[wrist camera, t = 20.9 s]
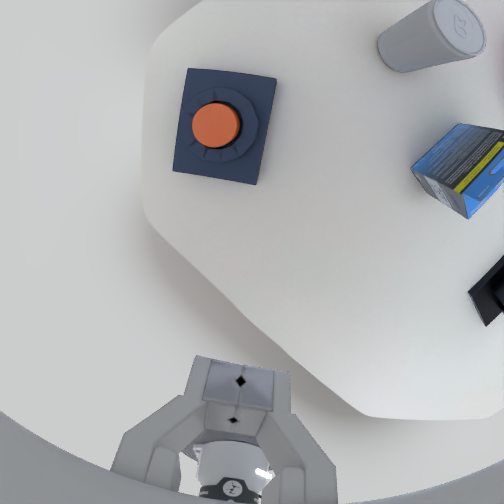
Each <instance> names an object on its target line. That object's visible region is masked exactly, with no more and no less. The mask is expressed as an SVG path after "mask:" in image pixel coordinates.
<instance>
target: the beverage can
mask: <svg viewBox="0 0 504 504" xmlns="http://www.w3.org/2000/svg"><path fill="white" fill-rule="evenodd" d="M485 46H486V35H485V30H484V28H483V25H482V23H481V21H480V19H479V18H478V16H477V15H476V14H475V12H474V11H473V10H472V9H471V8H470V7H469V6H468V5H467V4H465V3H464V2H462V1H461V0H431V1H429V2H428V3H426V4H424V5H423V6H421V7H420V8H418V9H417V10H415V11H414V12H412V13H411V14H409V15H408V16H406V17H405V18H403V19H402V20H400V21H399V22H397V23H396V24H394V25H393V26H392V27H390V28H389V29H387V30H386V31H385V32H383V33H382V34H381V35H380V37H379V39H378V49H379V52H380V55H381V57H382V58H383V60H384V61H385V63H386V64H387V65H388V66H390V67H391V68H392V69H394V70H396V71H399V72H411V71H415V70H419V69H423V68H427V67H431V66H436V65H440V64H445V63H449V62H454V61H459V60H464V59H470V58H473V57H475V56H476V55H478V54H481V53H482V52H483V51H484V48H485Z"/></svg>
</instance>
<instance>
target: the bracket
mask: <svg viewBox="0 0 504 504" xmlns="http://www.w3.org/2000/svg"><path fill="white" fill-rule="evenodd" d="M468 293H469V295H470V297H471V299H472V301H473V303H474V305H475V307H476V309H477V311H478V313H479V315H480V317H481V320H482V322H483V323H484V325H485V326H487V325H488V324H490V323H491V322H492V321H493V320H494V319H495V318H496V317H497V316H498V315H499V314H500V313H501V312H503V314H504V256H503V257H502V258H501V259H500V260H499V261H498V262H497V263H496V264H495V266H494V267H493V268H492V269H491V270H490V271H489V272H488V273H487V274H486V275H485V276H484V277H483V278H482V279H481V280H480V281H479V282H478V283H477V284H476V285H475V286H474V287H473V288H472V289H471V290H470V291H469V292H468Z"/></svg>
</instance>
